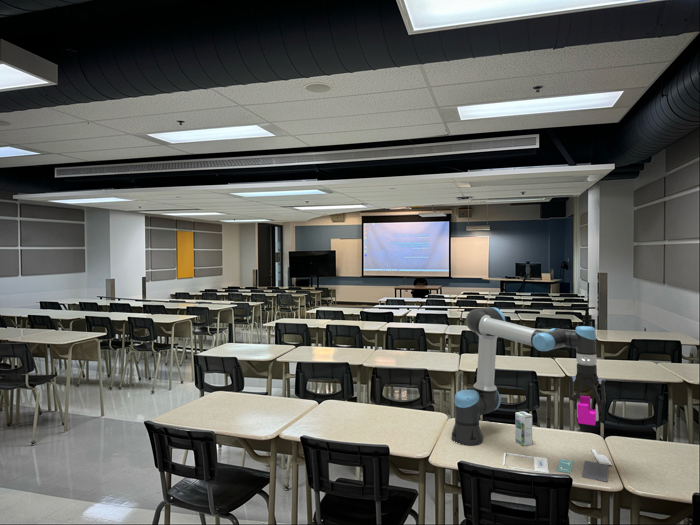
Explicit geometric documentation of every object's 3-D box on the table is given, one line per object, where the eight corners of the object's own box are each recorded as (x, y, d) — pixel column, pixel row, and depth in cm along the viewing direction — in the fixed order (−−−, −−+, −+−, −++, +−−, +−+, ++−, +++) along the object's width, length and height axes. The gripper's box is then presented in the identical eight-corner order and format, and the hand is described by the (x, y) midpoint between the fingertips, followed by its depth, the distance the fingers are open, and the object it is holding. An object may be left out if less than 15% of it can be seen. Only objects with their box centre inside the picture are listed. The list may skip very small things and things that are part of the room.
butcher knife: (603, 452, 212) (603, 449, 212) (612, 465, 198) (612, 463, 198) (591, 450, 213) (591, 448, 213) (599, 463, 199) (599, 461, 199)
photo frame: (548, 472, 192) (502, 465, 198) (548, 474, 192) (502, 468, 198) (546, 457, 205) (504, 452, 212) (546, 460, 205) (504, 454, 212)
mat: (581, 476, 188) (581, 476, 188) (585, 461, 203) (585, 460, 203) (607, 482, 184) (607, 481, 184) (608, 465, 198) (608, 464, 198)
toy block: (595, 425, 186) (594, 406, 186) (577, 423, 189) (577, 404, 189) (597, 414, 199) (596, 397, 199) (581, 412, 202) (580, 395, 202)
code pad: (556, 470, 194) (556, 470, 194) (560, 459, 205) (560, 458, 205) (569, 473, 192) (569, 473, 192) (573, 461, 203) (573, 461, 203)
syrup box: (514, 442, 225) (514, 412, 225) (524, 440, 227) (524, 410, 227) (522, 446, 220) (522, 416, 220) (532, 444, 222) (532, 414, 222)
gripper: (560, 363, 196) (561, 417, 196) (612, 367, 186) (613, 425, 186) (562, 359, 203) (563, 412, 202) (613, 364, 193) (614, 419, 192)
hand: (587, 418), depth 194 cm, fingers closed on toy block, 6 cm apart
